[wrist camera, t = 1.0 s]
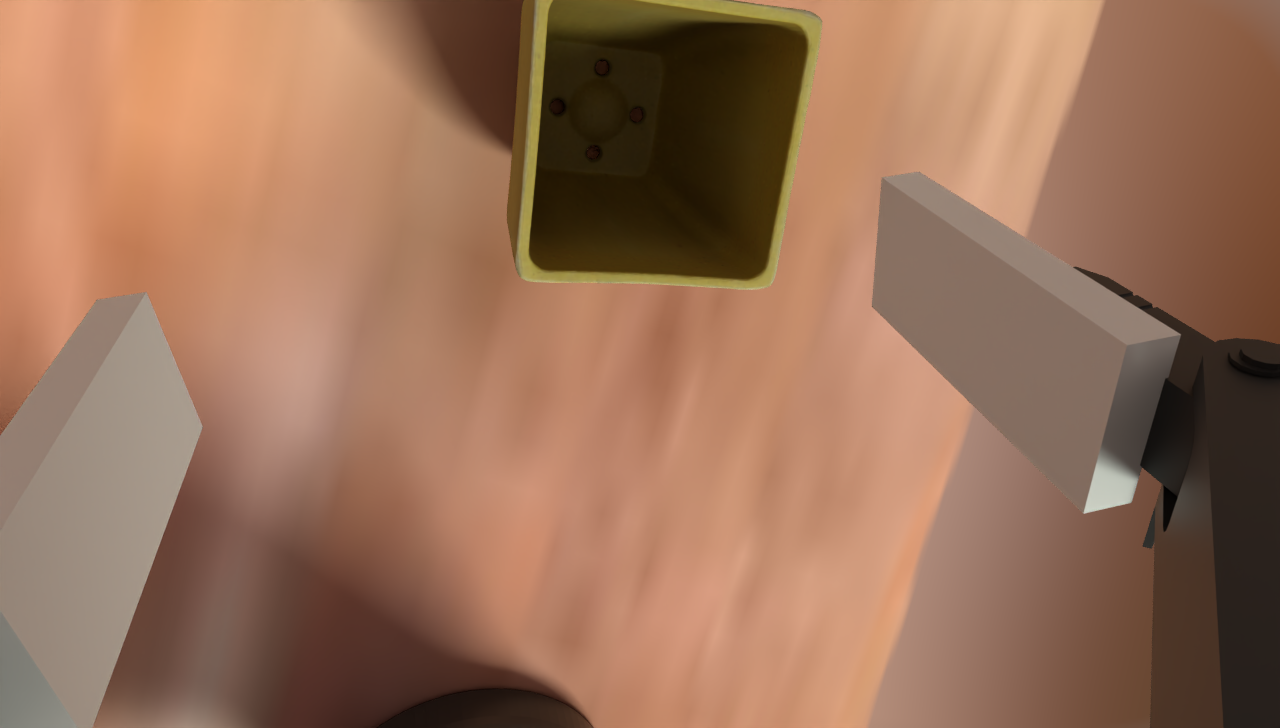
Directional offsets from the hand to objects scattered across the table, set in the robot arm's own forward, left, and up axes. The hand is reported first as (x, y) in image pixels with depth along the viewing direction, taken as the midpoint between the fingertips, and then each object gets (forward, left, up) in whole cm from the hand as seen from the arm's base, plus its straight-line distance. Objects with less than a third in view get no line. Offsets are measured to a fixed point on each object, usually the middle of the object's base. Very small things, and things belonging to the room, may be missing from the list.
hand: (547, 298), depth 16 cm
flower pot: (0, -6, -19) cm, 20 cm away
